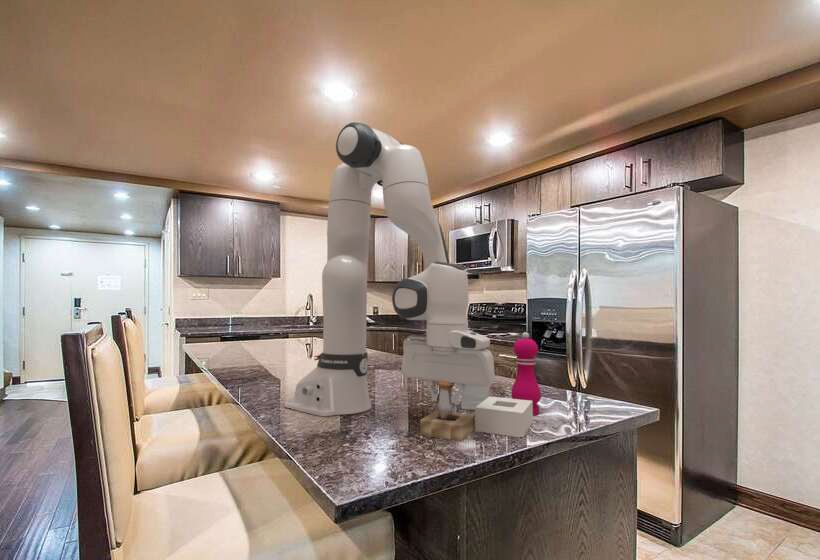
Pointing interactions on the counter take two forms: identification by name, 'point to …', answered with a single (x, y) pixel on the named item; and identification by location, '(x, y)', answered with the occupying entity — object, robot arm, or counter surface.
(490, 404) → the dock
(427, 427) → the mount
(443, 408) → the pin
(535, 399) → the pepper mill
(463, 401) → the supplement box
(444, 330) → the robot arm
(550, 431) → the counter surface
